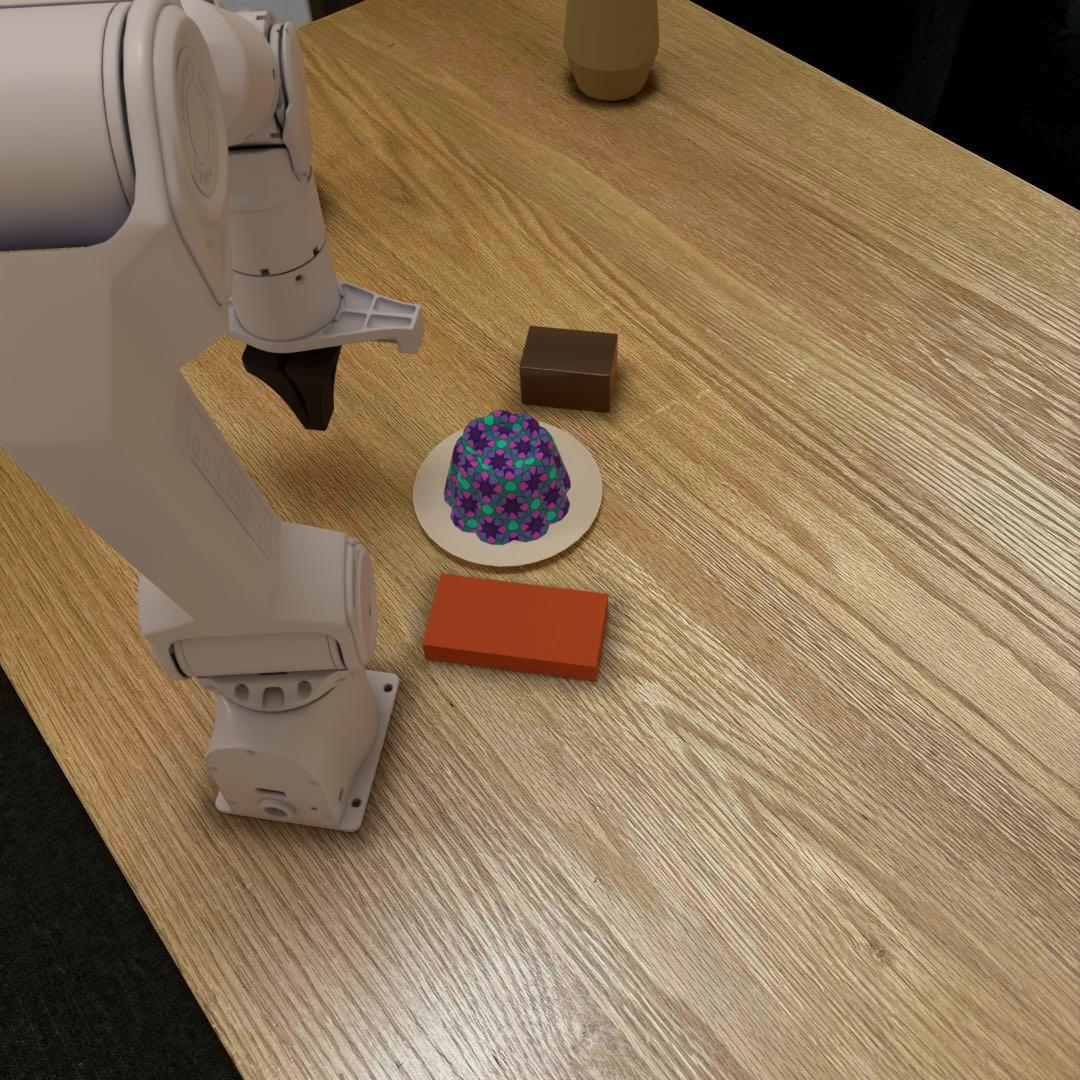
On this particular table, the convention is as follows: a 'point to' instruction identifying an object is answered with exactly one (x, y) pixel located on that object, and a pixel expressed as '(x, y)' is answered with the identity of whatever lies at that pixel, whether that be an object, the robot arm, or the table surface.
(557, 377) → the walnut block
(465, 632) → the flat red block
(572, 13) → the squeeze bottle
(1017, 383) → the table surface
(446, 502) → the pudding
